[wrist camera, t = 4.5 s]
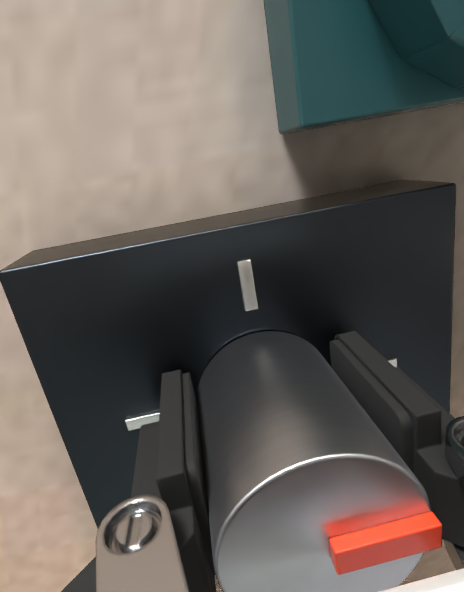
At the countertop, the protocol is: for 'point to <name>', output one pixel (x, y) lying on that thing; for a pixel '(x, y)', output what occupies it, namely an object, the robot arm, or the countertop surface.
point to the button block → (363, 58)
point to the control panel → (229, 306)
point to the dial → (303, 477)
